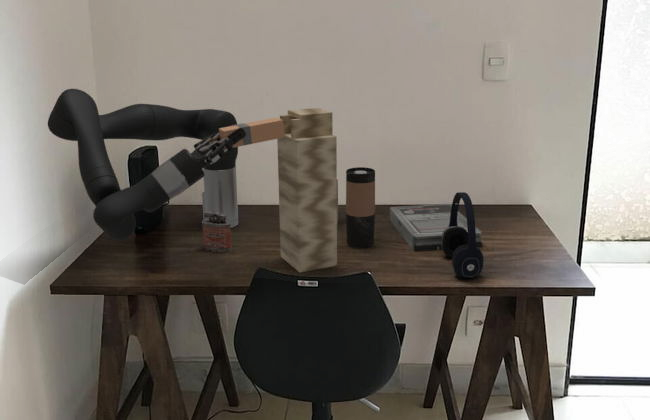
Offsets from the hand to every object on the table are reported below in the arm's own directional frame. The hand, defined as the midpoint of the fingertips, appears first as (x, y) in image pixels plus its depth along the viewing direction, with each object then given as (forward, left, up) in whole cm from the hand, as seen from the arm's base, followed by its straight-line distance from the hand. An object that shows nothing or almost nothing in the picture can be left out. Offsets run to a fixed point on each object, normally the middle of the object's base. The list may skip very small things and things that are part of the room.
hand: (240, 129), depth 158 cm
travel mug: (+12, +33, -35) cm, 49 cm away
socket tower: (+8, +15, -35) cm, 38 cm away
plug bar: (+2, +3, -3) cm, 4 cm away
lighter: (-17, +9, -35) cm, 40 cm away
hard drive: (+24, +51, -35) cm, 67 cm away
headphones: (+41, +32, -35) cm, 62 cm away
